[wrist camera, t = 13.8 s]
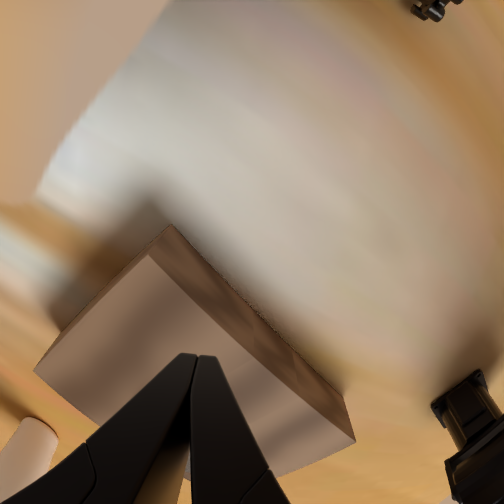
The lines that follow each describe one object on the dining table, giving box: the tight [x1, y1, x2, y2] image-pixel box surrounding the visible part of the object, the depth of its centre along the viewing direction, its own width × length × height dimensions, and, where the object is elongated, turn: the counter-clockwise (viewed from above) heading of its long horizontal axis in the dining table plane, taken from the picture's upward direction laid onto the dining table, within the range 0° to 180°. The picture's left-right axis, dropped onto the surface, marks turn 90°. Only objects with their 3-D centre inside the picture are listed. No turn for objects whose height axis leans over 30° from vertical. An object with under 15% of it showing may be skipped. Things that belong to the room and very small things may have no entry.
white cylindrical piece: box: [0, 417, 58, 503], centre depth 21 cm, size 7×7×15 cm
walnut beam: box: [33, 224, 356, 481], centre depth 21 cm, size 20×14×5 cm
